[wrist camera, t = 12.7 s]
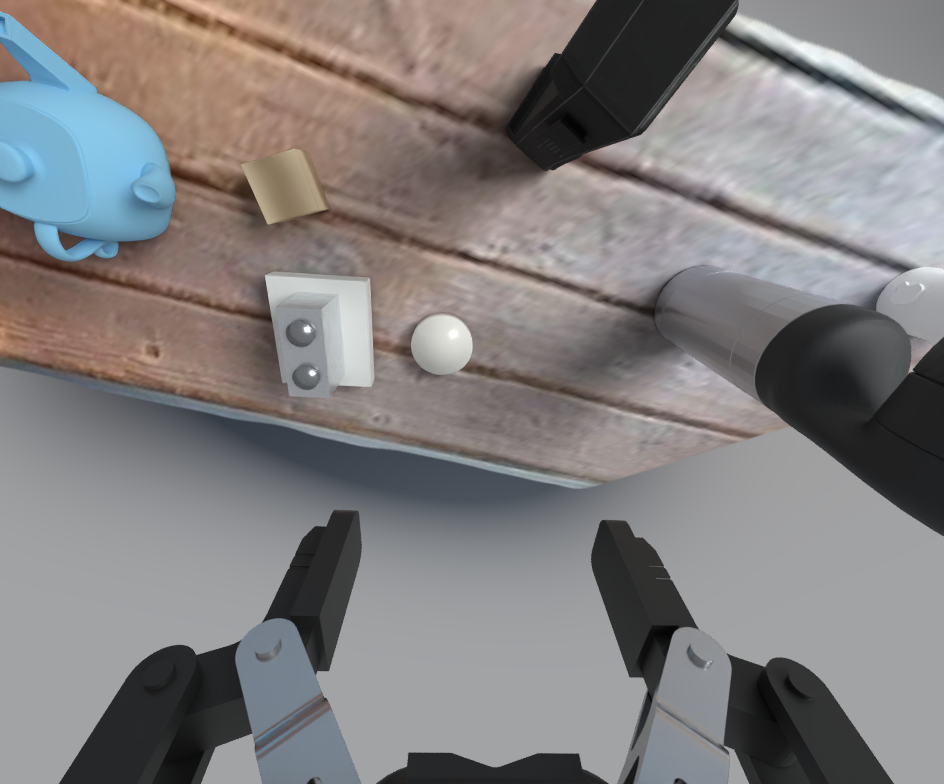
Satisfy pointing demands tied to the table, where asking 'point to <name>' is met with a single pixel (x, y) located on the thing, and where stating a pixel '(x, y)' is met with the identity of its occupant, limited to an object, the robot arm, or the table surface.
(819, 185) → the table surface
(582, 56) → the portable radio
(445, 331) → the glossy white pebble
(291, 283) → the stand
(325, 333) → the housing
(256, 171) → the oak block
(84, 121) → the teapot
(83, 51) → the table surface
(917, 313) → the mug
